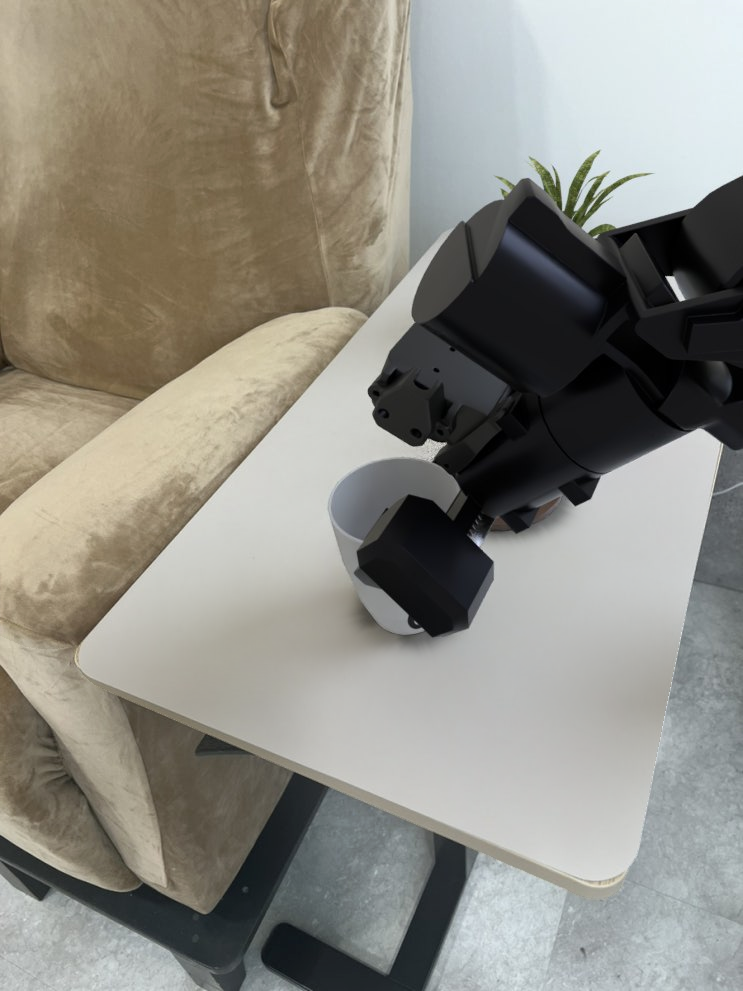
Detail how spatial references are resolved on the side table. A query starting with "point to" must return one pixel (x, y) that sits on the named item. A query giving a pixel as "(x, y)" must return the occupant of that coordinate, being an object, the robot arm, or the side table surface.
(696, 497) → the side table surface
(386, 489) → the cup
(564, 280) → the robot arm
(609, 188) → the house plant
